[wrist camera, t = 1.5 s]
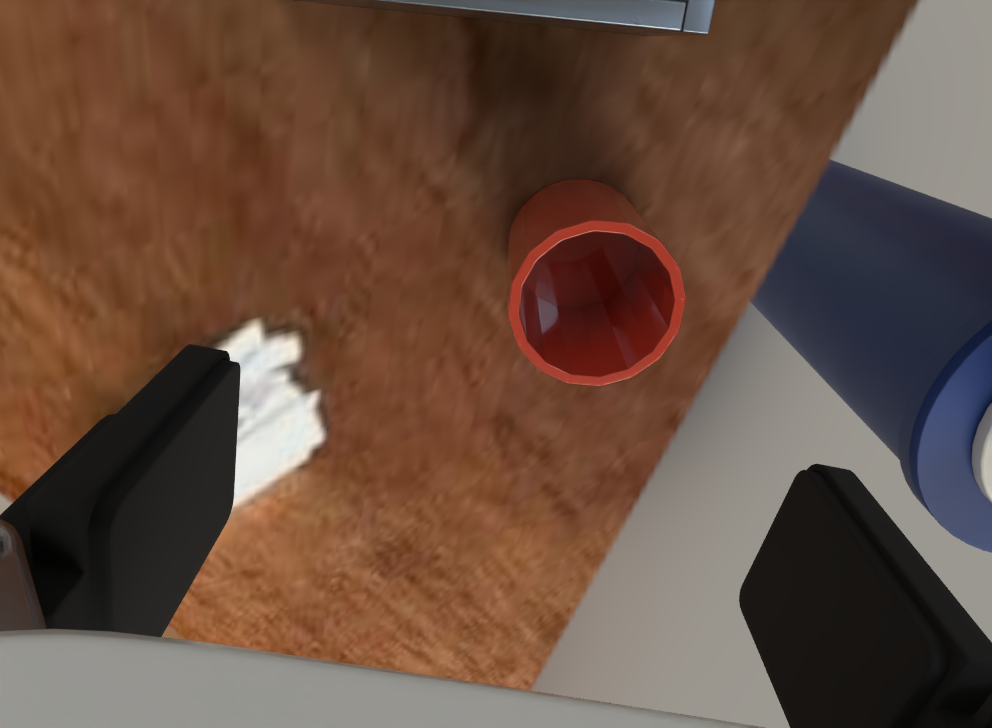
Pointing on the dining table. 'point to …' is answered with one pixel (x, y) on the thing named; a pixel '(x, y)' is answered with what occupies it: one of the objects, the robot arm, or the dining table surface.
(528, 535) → the dining table surface
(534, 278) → the cup
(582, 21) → the dark open box
